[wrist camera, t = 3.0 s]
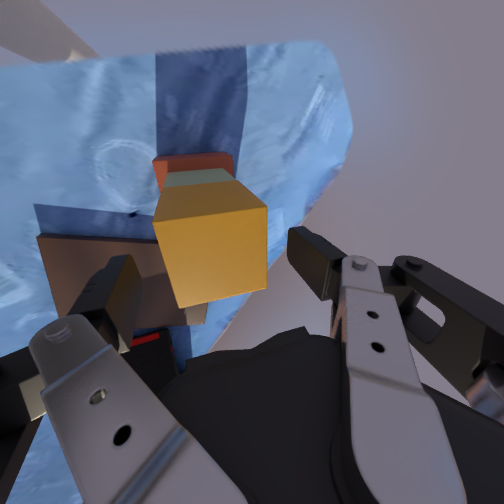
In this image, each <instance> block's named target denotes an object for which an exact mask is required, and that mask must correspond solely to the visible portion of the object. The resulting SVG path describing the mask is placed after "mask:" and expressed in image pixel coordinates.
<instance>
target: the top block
mask: <svg viewBox="0 0 504 504" xmlns="http://www.w3.org/2000/svg"><path fill="white" fill-rule="evenodd" d="M152 224H153V227H154V231H155V234H156V237H157V240H158V243H159V247H160V250H161V253H162V256H163V259H164V263H165V266H166V269H167V272H168V275H169V279H170V282H171V285H172V288H173V291H174V295H175V298H176V301H177V304H178V307H179V308H184V307H189V306H193V305H197V304H201V303H206V302H210V301H214V300H219V299H223V298H227V297H231V296H236V295H240V294H244V293H248V292H253V291H257V290H261V289H266V288H267V205H266V204H264V203H263V202H262V201H261V200H260V199H259V198H257V197H256V196H255V195H254V194H253V193H252V192H251V191H249V190H248V189H247V188H246V187H245V186H244V185H242V184H241V183H240V182H239V181H238V180H233V181H223V182H213V183H203V184H193V185H184V186H174V187H164V188H162V191H161V195H160V198H159V201H158V204H157V207H156V211H155V214H154V217H153V220H152Z"/></svg>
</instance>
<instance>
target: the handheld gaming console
mask: <svg viewBox="0 0 504 504" xmlns="http://www.w3.org/2000/svg"><path fill="white" fill-rule="evenodd" d="M120 355H121V356H122V357H123V359H124V360H125V361H126V362H127V363H128V364H129V365H130V367H131V368H132V369H133V370H134V371H135V372H136V374H137V375H138V376H139V377H140V378H141V379H142V381H143V382H144V383H145V384H146V385H147V386H148V387H149V389H150V390H151V391H152V392H153V393H154V394H155V396H157V394H158V393H159V392H160V391H161V390H162V389H163V388H164V387H165V386H166V385H167V384H168V383H170V382H171V381H172V380H173V379H174V378H176V377H177V376H179V372H178V367H177V363H176V359H175V355H174V350H173V346H172V342H171V338H170V333H169V330H168V329H167V328H163V329H160V330H157V331H153V332H150V333H147V334H143V335H140V336H137V337H133V339H132V343H131V347H130V351H128V352H124V353H120Z"/></svg>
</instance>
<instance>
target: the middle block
mask: <svg viewBox="0 0 504 504" xmlns="http://www.w3.org/2000/svg"><path fill="white" fill-rule="evenodd" d="M233 180H236V179H235V178H234V177H232V176H231V175H230V174H229V173H228V172H227V171H226V170H224V169H223V168H214V169H202V170H191V171H179V172H168V173H167V176H166V179H165V182H164V185H163V188H164V187H174V186H184V185H193V184H203V183H213V182H223V181H233Z"/></svg>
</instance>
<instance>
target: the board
mask: <svg viewBox="0 0 504 504" xmlns="http://www.w3.org/2000/svg"><path fill="white" fill-rule="evenodd" d="M36 239H37V242H38V246H39V249H40V253H41V256H42V260H43V263H44V267H45V271H46V274H47V278H48V281H49V285H50V288H51V292H52V295H53V299H54V302H55V306H56V309H57V313H58V316H59V318H62V317H65V316H66V315H67V314H68V312H69V311H70V309H71V307H72V306H73V304H74V303H75V301H76V300H77V298H78V296H79V295H80V294H81V292H82V290H83V288H84V287H86V284H87V282H88V280H89V279H90V277H91V276H93V275H94V274H95V273H96V272H98V271H99V270H100V269H104V268H105V266H106V265H107V263H108V261H109V259H110V258H111V257H112V256H118V255H125V254H131V255H132V256H133V258H134V261H135V263H136V266H137V268H138V271H139V273H140V276H141V278H142V281H143V286H144V293H143V297H142V301H141V305H140V309H139V314H138V318H137V322H136V326H135V329H143V328H156V327H169V326H183V325H196V324H205V318H206V312H207V305H208V302H206V303H201V304H197V305H193V306H189V307H184V308H179V307H178V304H177V301H176V298H175V295H174V291H173V288H172V285H171V282H170V279H169V275H168V272H167V269H166V266H165V263H164V259H163V256H162V253H161V250H160V247H159V243H158V240H143V239H127V238H110V237H94V236H78V235H62V234H46V233H41V234H40V235H38V236H37V237H36Z"/></svg>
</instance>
